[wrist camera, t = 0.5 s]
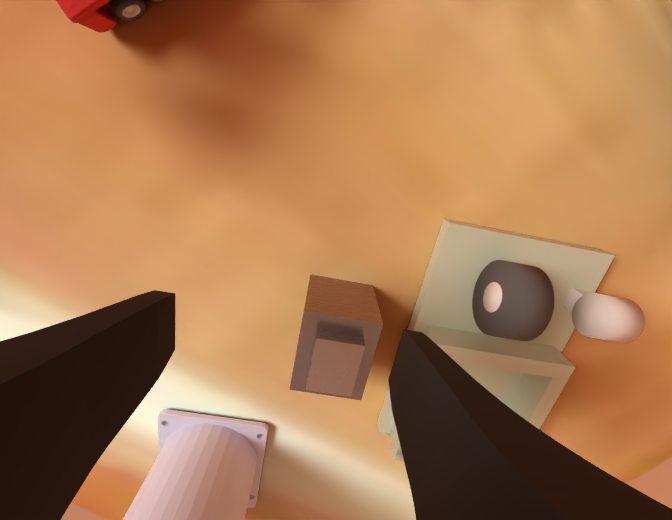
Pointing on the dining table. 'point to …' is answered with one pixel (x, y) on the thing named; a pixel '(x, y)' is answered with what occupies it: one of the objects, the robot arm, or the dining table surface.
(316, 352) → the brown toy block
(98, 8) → the toy fire truck
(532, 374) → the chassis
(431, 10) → the dining table surface
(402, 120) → the dining table surface
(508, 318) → the wheel
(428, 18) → the dining table surface
